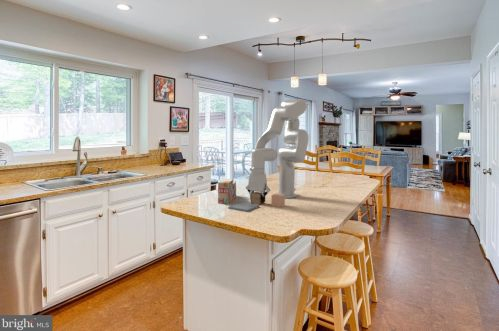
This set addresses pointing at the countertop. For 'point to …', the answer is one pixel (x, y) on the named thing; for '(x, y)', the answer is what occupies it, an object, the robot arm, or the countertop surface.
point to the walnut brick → (256, 198)
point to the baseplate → (243, 206)
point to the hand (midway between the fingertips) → (257, 201)
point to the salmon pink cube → (278, 200)
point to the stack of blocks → (226, 190)
